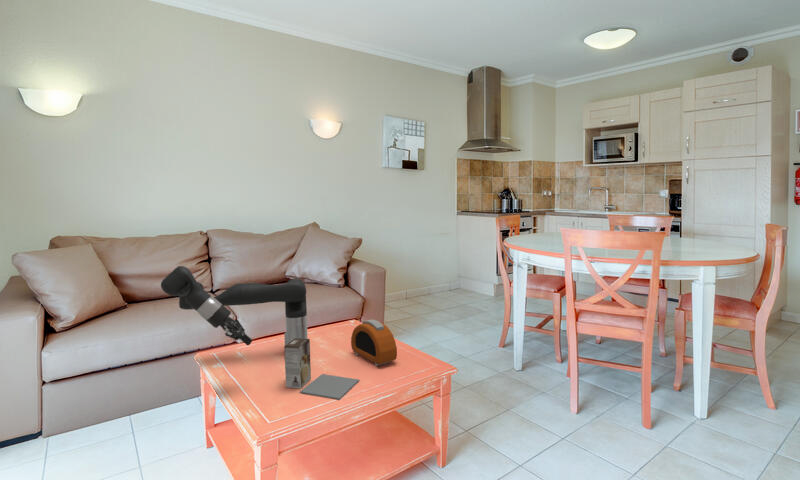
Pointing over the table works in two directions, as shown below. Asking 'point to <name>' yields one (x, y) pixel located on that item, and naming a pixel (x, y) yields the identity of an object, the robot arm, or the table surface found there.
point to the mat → (330, 386)
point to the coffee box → (297, 363)
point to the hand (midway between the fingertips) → (250, 343)
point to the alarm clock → (374, 342)
